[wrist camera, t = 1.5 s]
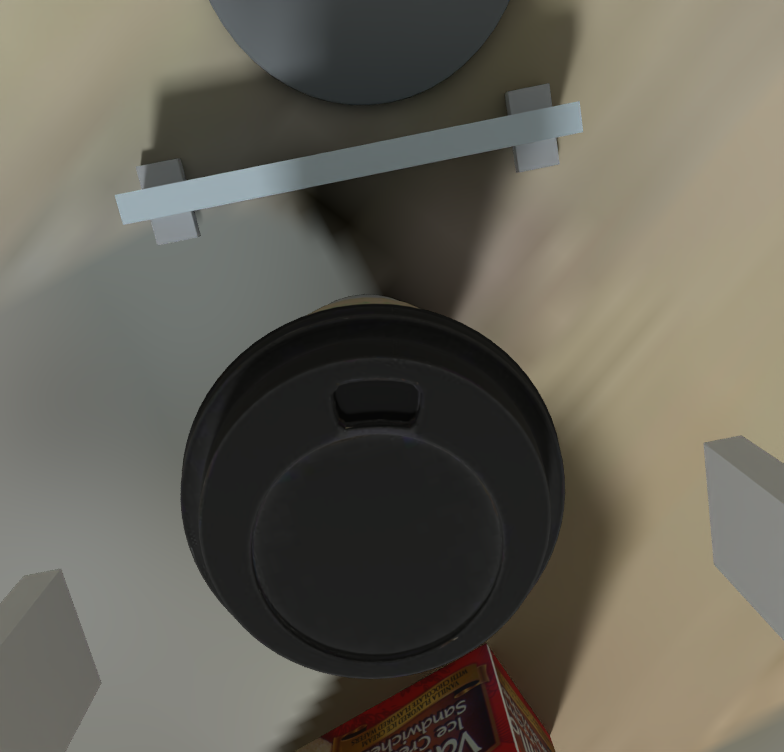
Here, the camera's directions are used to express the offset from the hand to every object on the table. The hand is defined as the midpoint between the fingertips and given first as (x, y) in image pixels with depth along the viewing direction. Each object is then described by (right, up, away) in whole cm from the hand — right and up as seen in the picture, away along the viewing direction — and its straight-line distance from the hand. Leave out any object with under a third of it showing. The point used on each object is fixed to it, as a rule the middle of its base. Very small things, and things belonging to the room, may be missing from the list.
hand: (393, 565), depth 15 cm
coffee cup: (-1, +4, +16) cm, 17 cm away
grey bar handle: (-2, +12, +14) cm, 18 cm away
